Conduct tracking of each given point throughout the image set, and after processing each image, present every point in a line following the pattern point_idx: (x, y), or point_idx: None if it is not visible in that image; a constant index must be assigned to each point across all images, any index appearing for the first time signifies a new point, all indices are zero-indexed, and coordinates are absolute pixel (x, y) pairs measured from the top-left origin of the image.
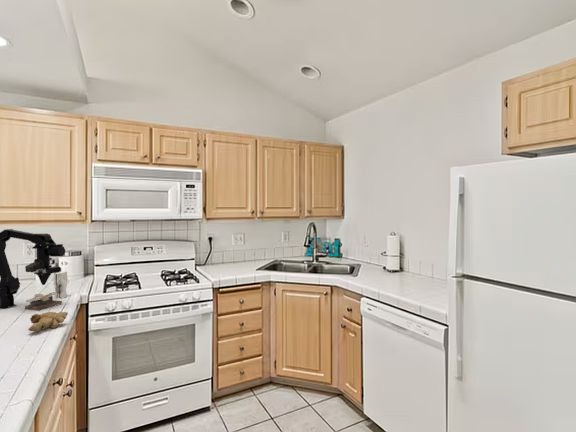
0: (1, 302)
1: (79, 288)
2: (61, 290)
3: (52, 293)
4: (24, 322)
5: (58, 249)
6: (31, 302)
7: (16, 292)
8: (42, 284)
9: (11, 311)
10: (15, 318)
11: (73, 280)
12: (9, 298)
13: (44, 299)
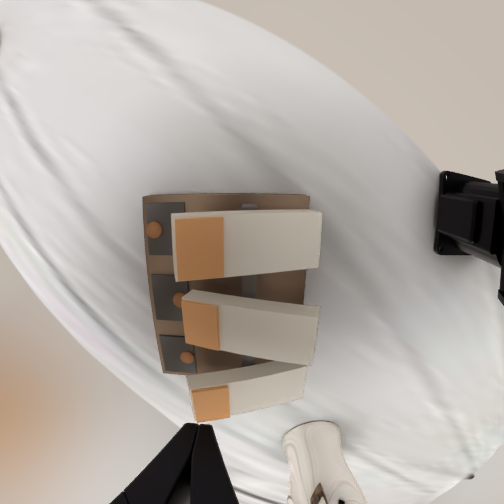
0: (487, 183)
1: None
2: (296, 468)
3: (189, 392)
4: (54, 35)
5: None
6: (241, 207)
7: (501, 298)
8: (198, 426)
9: (345, 124)
10: (149, 31)
11: (421, 497)
12: (481, 213)
13: (183, 298)
